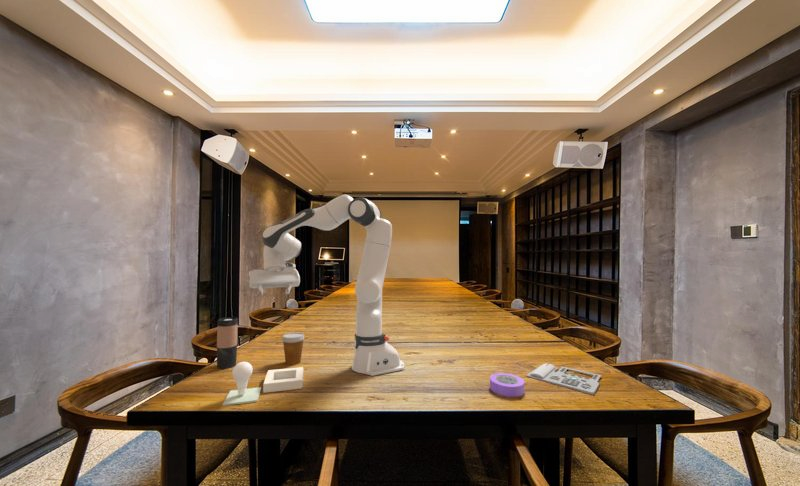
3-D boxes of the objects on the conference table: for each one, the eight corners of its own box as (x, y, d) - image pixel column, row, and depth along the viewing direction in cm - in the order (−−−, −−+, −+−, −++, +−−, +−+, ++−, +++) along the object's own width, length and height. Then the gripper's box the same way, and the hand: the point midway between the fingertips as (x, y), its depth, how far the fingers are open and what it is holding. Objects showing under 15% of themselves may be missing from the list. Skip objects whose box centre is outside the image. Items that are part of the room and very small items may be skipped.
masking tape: (521, 400, 103) (521, 389, 103) (486, 392, 109) (486, 381, 109) (526, 387, 113) (526, 376, 113) (493, 380, 119) (493, 370, 119)
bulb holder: (303, 374, 123) (303, 366, 123) (302, 388, 111) (302, 379, 111) (267, 378, 119) (268, 370, 119) (263, 392, 107) (263, 384, 107)
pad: (261, 388, 110) (261, 387, 110) (257, 401, 100) (257, 400, 100) (230, 392, 107) (230, 390, 107) (222, 406, 98) (222, 404, 98)
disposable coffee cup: (308, 361, 138) (309, 334, 138) (291, 367, 130) (291, 339, 130) (294, 357, 143) (295, 331, 144) (276, 363, 135) (277, 335, 135)
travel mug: (240, 364, 134) (241, 317, 134) (224, 370, 127) (225, 321, 127) (228, 361, 137) (230, 316, 138) (212, 367, 130) (213, 319, 131)
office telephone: (525, 371, 123) (542, 359, 137) (525, 378, 123) (543, 365, 137) (593, 388, 107) (604, 372, 121) (593, 396, 107) (605, 379, 121)
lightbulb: (242, 400, 100) (243, 366, 100) (227, 398, 101) (228, 364, 102) (255, 392, 106) (256, 359, 106) (241, 390, 107) (242, 358, 108)
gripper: (248, 264, 131) (248, 290, 122) (298, 264, 140) (301, 288, 131) (248, 274, 135) (247, 300, 126) (297, 273, 144) (300, 297, 135)
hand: (275, 293), depth 128 cm, fingers open, 8 cm apart
